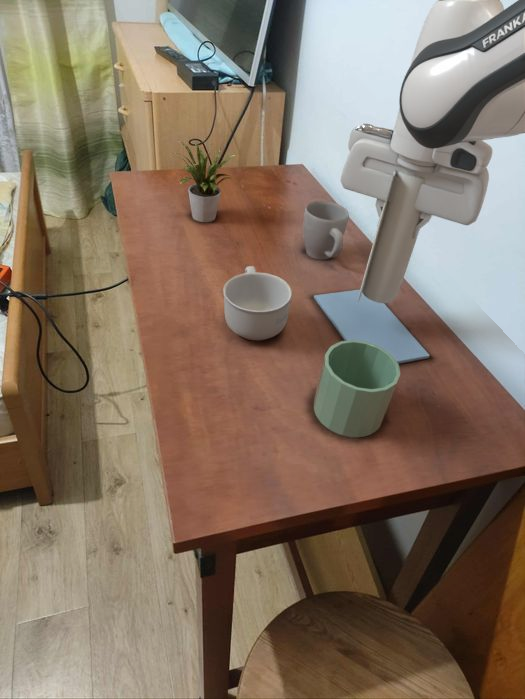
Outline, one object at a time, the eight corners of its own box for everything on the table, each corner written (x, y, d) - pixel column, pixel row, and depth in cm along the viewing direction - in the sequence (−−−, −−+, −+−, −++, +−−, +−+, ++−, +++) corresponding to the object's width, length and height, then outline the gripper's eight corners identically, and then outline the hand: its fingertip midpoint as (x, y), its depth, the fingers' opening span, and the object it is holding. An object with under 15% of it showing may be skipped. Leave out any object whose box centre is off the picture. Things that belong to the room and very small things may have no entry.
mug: (291, 244, 109) (298, 201, 102) (329, 241, 111) (338, 199, 105) (313, 274, 100) (322, 230, 94) (353, 270, 103) (364, 227, 97)
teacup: (285, 352, 82) (293, 312, 76) (218, 346, 81) (220, 305, 76) (284, 302, 92) (290, 264, 87) (224, 296, 92) (227, 257, 86)
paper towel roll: (392, 285, 88) (431, 162, 74) (400, 305, 84) (444, 179, 70) (351, 282, 87) (383, 157, 74) (357, 302, 83) (393, 174, 69)
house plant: (152, 216, 111) (149, 140, 101) (189, 196, 121) (190, 125, 110) (206, 237, 107) (209, 160, 96) (240, 214, 117) (246, 142, 106)
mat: (428, 358, 84) (430, 355, 84) (366, 369, 80) (367, 367, 80) (369, 290, 98) (370, 287, 98) (313, 297, 94) (314, 295, 94)
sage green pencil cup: (391, 403, 75) (408, 357, 70) (369, 448, 68) (387, 402, 63) (329, 376, 78) (341, 331, 72) (302, 417, 71) (313, 371, 65)
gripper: (345, 125, 69) (326, 219, 78) (498, 165, 63) (459, 262, 72) (360, 115, 74) (341, 205, 83) (504, 151, 68) (467, 244, 77)
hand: (397, 232), depth 77 cm, fingers closed on paper towel roll, 3 cm apart
